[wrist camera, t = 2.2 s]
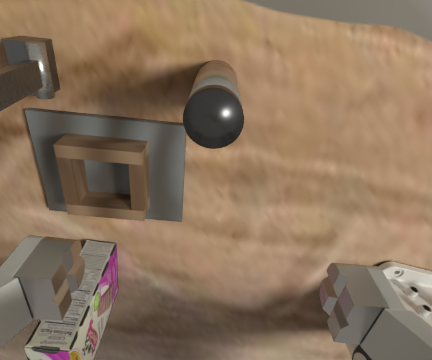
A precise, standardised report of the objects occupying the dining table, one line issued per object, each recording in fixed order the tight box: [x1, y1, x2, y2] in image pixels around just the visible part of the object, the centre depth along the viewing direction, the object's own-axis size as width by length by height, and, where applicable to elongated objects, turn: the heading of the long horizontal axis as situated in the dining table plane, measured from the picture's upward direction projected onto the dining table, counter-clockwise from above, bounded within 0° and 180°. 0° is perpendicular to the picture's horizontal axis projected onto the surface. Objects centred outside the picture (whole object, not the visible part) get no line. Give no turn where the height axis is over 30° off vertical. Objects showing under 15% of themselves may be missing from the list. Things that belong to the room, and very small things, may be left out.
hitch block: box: [25, 108, 186, 222], centre depth 35 cm, size 18×14×4 cm
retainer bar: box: [0, 59, 43, 111], centre depth 23 cm, size 1×3×10 cm, turn 174°
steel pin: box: [183, 60, 244, 149], centre depth 26 cm, size 4×4×12 cm
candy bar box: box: [24, 239, 118, 360], centre depth 39 cm, size 11×5×16 cm, turn 172°
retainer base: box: [2, 36, 60, 99], centre depth 29 cm, size 4×5×4 cm
